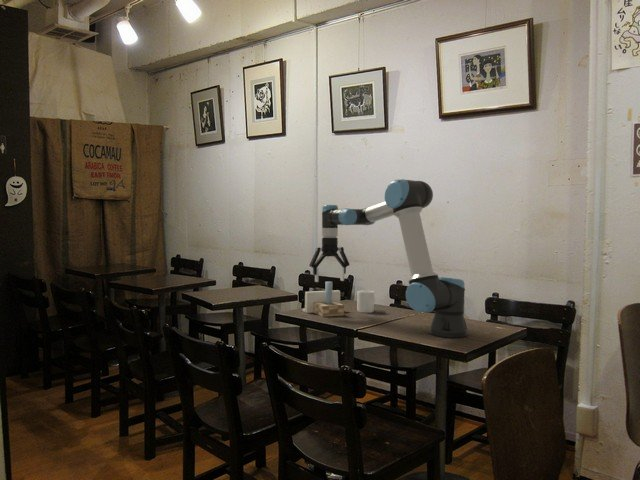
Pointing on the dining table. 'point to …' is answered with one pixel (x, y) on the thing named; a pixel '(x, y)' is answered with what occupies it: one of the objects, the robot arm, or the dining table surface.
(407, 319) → the dining table surface
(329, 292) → the dowel
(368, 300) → the cup
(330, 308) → the block
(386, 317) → the dining table surface
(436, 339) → the dining table surface
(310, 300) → the panel
